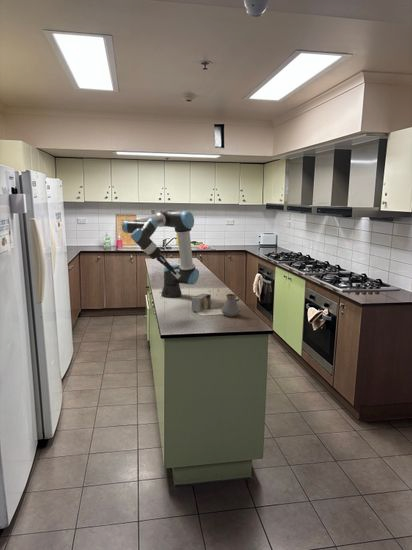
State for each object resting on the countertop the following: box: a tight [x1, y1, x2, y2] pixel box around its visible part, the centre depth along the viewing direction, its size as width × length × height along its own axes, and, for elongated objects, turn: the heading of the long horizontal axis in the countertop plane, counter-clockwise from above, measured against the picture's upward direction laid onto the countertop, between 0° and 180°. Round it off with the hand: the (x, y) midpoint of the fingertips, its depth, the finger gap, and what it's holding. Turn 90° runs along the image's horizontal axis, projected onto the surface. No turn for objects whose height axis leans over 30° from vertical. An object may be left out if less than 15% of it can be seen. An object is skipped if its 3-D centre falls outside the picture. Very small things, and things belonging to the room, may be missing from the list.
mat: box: [196, 308, 225, 317], centre depth 255 cm, size 12×18×1 cm, turn 109°
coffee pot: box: [221, 293, 241, 318], centre depth 244 cm, size 21×12×15 cm, turn 13°
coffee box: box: [191, 293, 212, 313], centre depth 261 cm, size 9×6×16 cm
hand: (178, 277), depth 244 cm, fingers closed
